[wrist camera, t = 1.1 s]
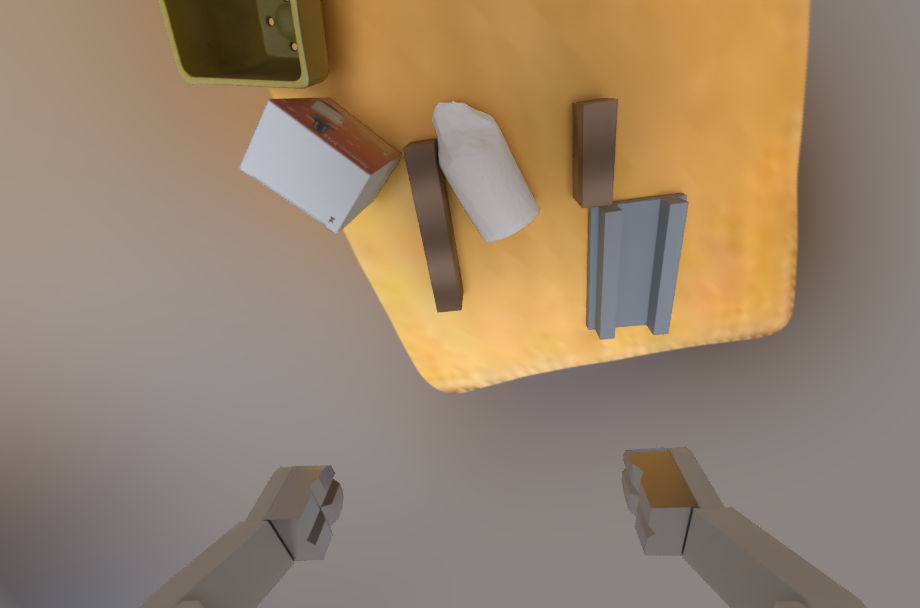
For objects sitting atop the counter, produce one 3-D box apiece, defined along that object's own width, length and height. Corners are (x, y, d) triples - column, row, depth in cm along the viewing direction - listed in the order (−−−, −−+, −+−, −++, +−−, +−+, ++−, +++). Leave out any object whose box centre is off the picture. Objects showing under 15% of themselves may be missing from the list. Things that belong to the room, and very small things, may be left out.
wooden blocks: (408, 130, 33) (399, 134, 30) (603, 98, 31) (617, 99, 28) (441, 294, 42) (437, 312, 38) (596, 277, 39) (607, 295, 36)
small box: (403, 154, 34) (374, 176, 25) (373, 201, 37) (337, 237, 28) (327, 94, 32) (266, 95, 23) (301, 148, 35) (235, 169, 26)
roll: (474, 78, 31) (472, 76, 26) (537, 201, 36) (545, 218, 31) (417, 120, 33) (405, 124, 28) (483, 231, 38) (483, 251, 33)
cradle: (588, 205, 36) (596, 213, 33) (681, 192, 35) (697, 201, 32) (586, 325, 43) (592, 340, 40) (663, 317, 41) (675, 333, 39)
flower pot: (351, 89, 32) (308, 89, 24) (253, 85, 32) (179, 83, 25) (338, -46, 28) (281, -100, 20) (225, -50, 28) (124, -104, 20)
